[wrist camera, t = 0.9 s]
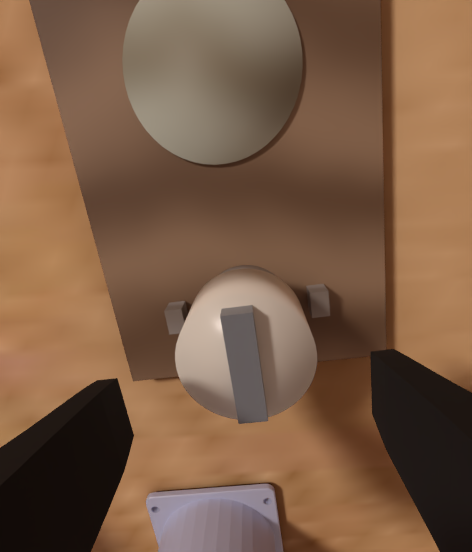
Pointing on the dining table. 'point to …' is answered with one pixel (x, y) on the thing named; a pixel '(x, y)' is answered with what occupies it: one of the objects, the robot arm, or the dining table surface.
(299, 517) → the dining table surface
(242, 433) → the dining table surface
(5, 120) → the dining table surface
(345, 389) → the dining table surface
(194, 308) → the knob
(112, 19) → the base
